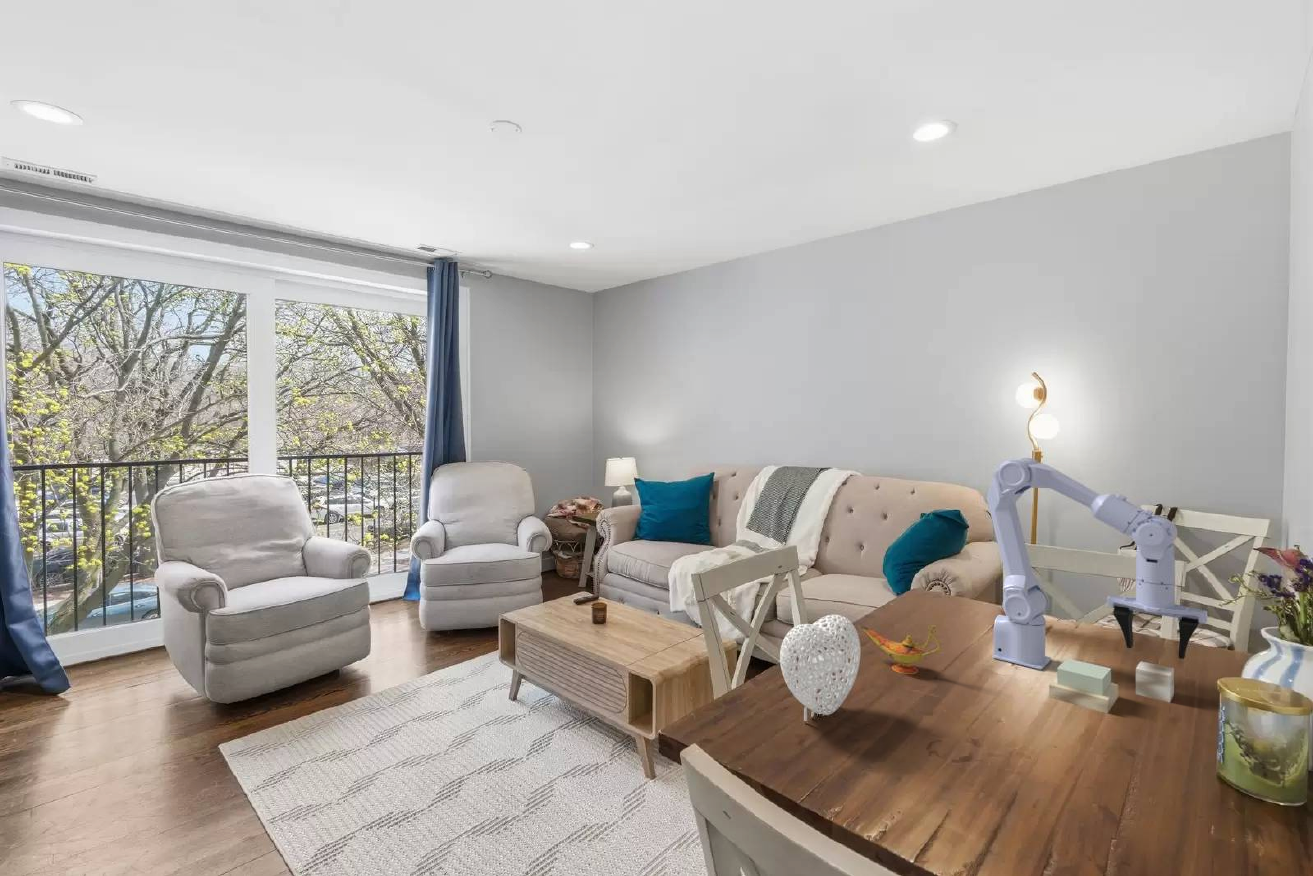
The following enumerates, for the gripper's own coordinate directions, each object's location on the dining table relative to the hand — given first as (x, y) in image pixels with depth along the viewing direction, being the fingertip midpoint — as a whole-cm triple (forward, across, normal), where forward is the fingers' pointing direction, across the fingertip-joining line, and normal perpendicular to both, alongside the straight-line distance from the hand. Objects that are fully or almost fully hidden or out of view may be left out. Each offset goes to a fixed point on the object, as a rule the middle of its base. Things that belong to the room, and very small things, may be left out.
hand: (1155, 652), depth 114 cm
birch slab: (+9, -9, -11) cm, 17 cm away
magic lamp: (+8, -40, -22) cm, 46 cm away
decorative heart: (+8, -40, -52) cm, 66 cm away
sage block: (+6, -9, -11) cm, 15 cm away
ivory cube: (+8, 0, 0) cm, 8 cm away
